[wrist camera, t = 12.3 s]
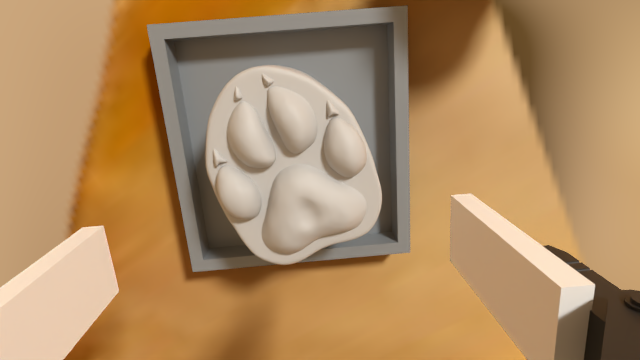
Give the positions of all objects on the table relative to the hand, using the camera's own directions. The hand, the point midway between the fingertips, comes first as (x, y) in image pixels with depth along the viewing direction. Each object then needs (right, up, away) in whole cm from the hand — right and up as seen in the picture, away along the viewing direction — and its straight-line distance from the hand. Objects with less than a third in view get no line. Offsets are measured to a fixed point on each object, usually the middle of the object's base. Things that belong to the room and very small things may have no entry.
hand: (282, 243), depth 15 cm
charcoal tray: (-1, +6, +18) cm, 19 cm away
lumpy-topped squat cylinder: (-1, +5, +17) cm, 18 cm away
